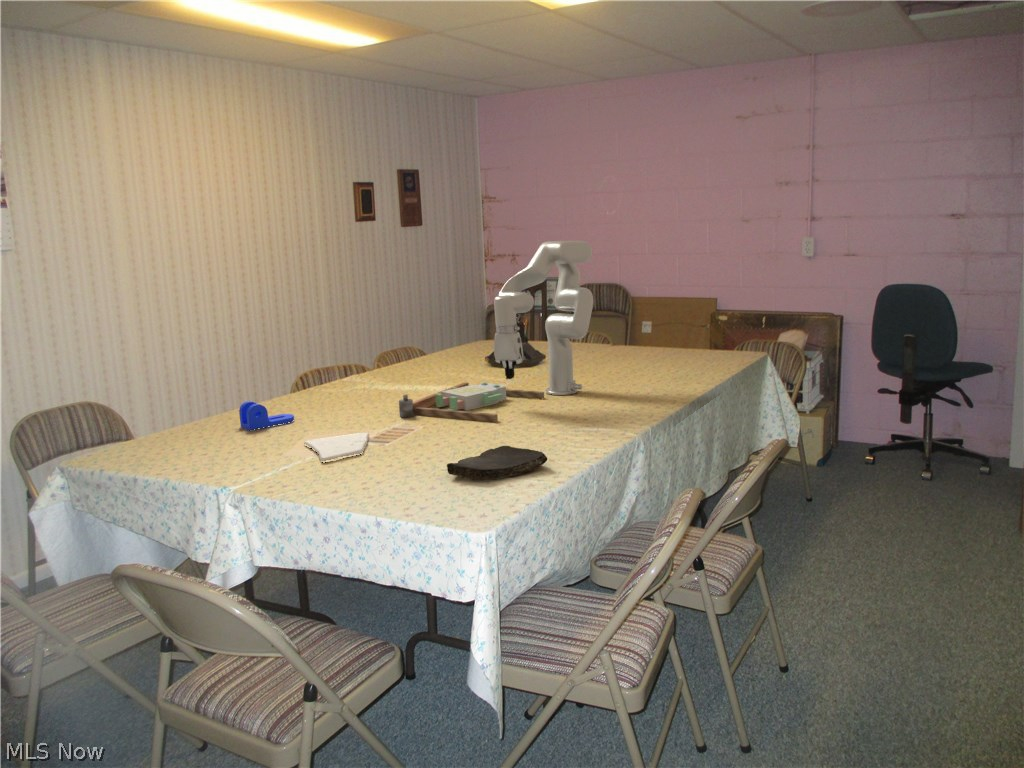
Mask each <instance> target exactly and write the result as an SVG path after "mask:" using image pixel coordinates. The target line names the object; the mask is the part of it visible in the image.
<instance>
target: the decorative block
mask: <svg viewBox="0 0 1024 768" xmlns="http://www.w3.org/2000/svg"><path fill="white" fill-rule="evenodd" d="M506 389H507V386H506V385H501V384H494V383H489V382H482V383H478V384H470V385H469V386H465V387H461V388H457V387H454V386H452V389H451V390H447V391H443V390H441V391H442V394H439V393H438V392H436V393H437V394H435V393H434V394H435V400H436V406H435V407H438V408H442V407H443V408H444V407H448V408H449V410H456V411H471V410H474V409H479V408H483V406H484V407H487V406H492V405H495V404H498V403H499V401H500V402H503V400H504V401H507V397H506Z"/></svg>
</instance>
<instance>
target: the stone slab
mask: <svg viewBox="0 0 1024 768" xmlns="http://www.w3.org/2000/svg"><path fill="white" fill-rule="evenodd" d="M547 461H548V457H547V456H546V454H545V453H544V452H542V451H538V450H534V449H529V448H521V447H520V448H519V447H513V446H511V445H501V446H499V447H495V448H489V449H487V450H485V451H483V452H481V453H480V455H476V456H470V457H466V458H461V459H459V460H458V461H457V462H454V463H453V462H448V463H447V464H446V468H447V469H446V470H447V473H448V474H449V475H452V476H456V477H457V476H458V477H460V478H467V479H470V480H480V481H481V480H493V479H502V478H503V479H504V478H508V477H515V476H520V475H522V474H525V473H529V472H531V471H533V470H536V469H538V468H539V467H542V466H543V465H544V464H546V462H547Z"/></svg>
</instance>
